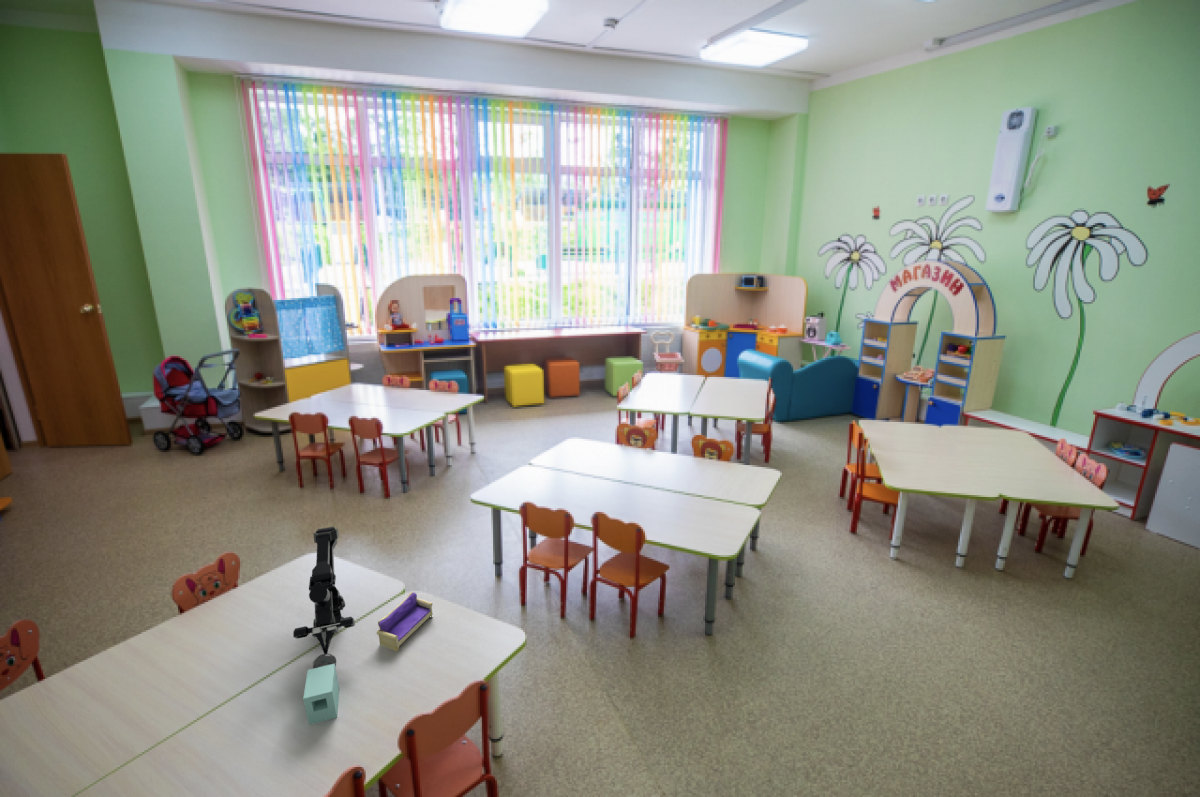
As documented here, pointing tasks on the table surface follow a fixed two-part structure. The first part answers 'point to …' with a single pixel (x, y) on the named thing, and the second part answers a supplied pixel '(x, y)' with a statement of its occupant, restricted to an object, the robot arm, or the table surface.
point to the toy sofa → (403, 621)
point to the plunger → (324, 660)
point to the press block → (321, 694)
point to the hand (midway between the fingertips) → (325, 653)
